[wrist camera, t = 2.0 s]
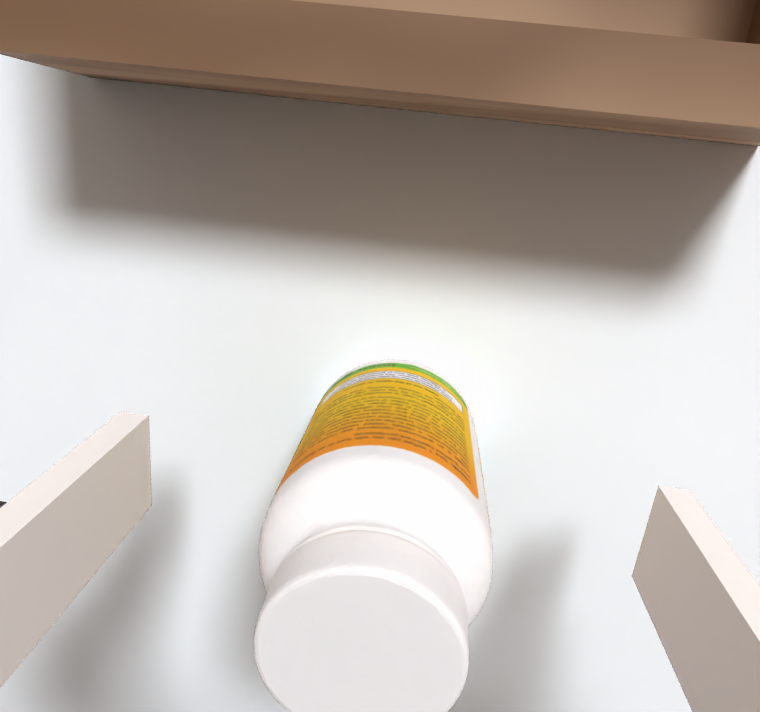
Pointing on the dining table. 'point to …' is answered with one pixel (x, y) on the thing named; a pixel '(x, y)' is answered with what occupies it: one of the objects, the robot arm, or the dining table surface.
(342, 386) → the supplement bottle
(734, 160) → the dining table surface
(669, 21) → the walnut trough
